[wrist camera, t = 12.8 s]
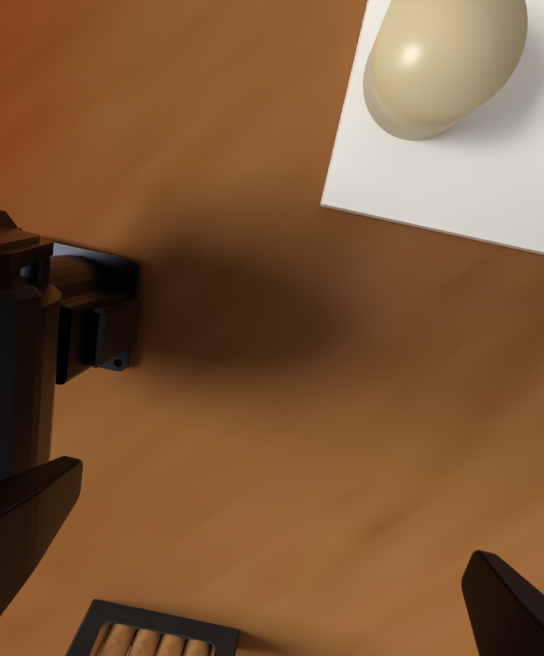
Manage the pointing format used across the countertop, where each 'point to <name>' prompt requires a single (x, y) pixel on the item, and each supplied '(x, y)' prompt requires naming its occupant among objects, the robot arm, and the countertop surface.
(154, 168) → the countertop surface
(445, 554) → the countertop surface
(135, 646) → the ammunition clip
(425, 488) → the countertop surface
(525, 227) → the carrier plate
